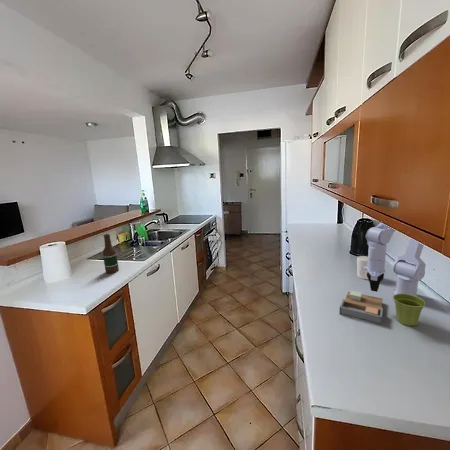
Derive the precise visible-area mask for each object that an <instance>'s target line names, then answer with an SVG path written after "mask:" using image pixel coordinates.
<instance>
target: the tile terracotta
mask: <svg viewBox="0 0 450 450" xmlns="http://www.w3.org/2000/svg"><path fill="white" fill-rule="evenodd" d="M365 312H366V313H370V314H374V315H378V309H376V308H371V307H367V306H366V310H365Z"/></svg>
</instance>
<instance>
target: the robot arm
mask: <svg viewBox="0 0 450 450" xmlns="http://www.w3.org/2000/svg"><path fill="white" fill-rule="evenodd" d="M396 231H397V230H394V229H392V228H390V227H388V226H386V225H385V224H383V223H381V222H379V223H378V224H377V225H376V226H373V227H370V228H369V229H368V230H367V231H366V234H365V239H366V241H367V243H366V245H367V246H368V251H367V252H368V254H367V257H368V266H367V267H364V270H367V271H368V272H367V277H368V279H367V280H368V282H369V288H370V291H371V292H378V291H379V287H380V284H381V283H382V281H383V280H384V277H385V273H386V270H385V269H386V266H385V265H386V255H387V244H388V243H390V241H391V239H392V237H393V235H394V233H395V232H396ZM424 245H425V244H424ZM424 245H422V244H420V243H419V242H417V241H415V240H413V239H410V238H409V240H408V243H407V246H406V249H405V251H404V254H401V255H399V256H397V259H396V260H395V262H394V263H393V266H392V272H393V273H394V274H395V276H396V283H395V284H396V286H395V288H394V292H393V293H394V294H393V296H394V295H396V294H409V295H413V296H416V297H418V286H419V285H418V284H419V281H422V280H423V279H424V277H425V274H426V266H427V264H426V263H425V262H424V260H423V259H422V258H421V255H422V252H423V249H424Z"/></svg>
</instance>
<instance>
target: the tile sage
mask: <svg viewBox="0 0 450 450" xmlns="http://www.w3.org/2000/svg"><path fill="white" fill-rule="evenodd" d="M350 292H351V293H350V299H353V300H357V301H361V297H362V295H363V293H362V292H360V291H354V290H351V291H350Z"/></svg>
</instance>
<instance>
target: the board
mask: <svg viewBox="0 0 450 450" xmlns="http://www.w3.org/2000/svg"><path fill="white" fill-rule="evenodd" d="M350 293H351V291H348V292H347V294H346V297H345V299H344V300H345V301H344V305H345V306H350V307H354V308H358V309H362V310H366V306H367V307H371V308H376V309H378V313H379V314H380V313H381V308H383V300H384V299H383V298H382V297H377V296H376V297H375V296H371V295H367V294H362V297H361V301H357V300H353V299H350Z"/></svg>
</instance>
